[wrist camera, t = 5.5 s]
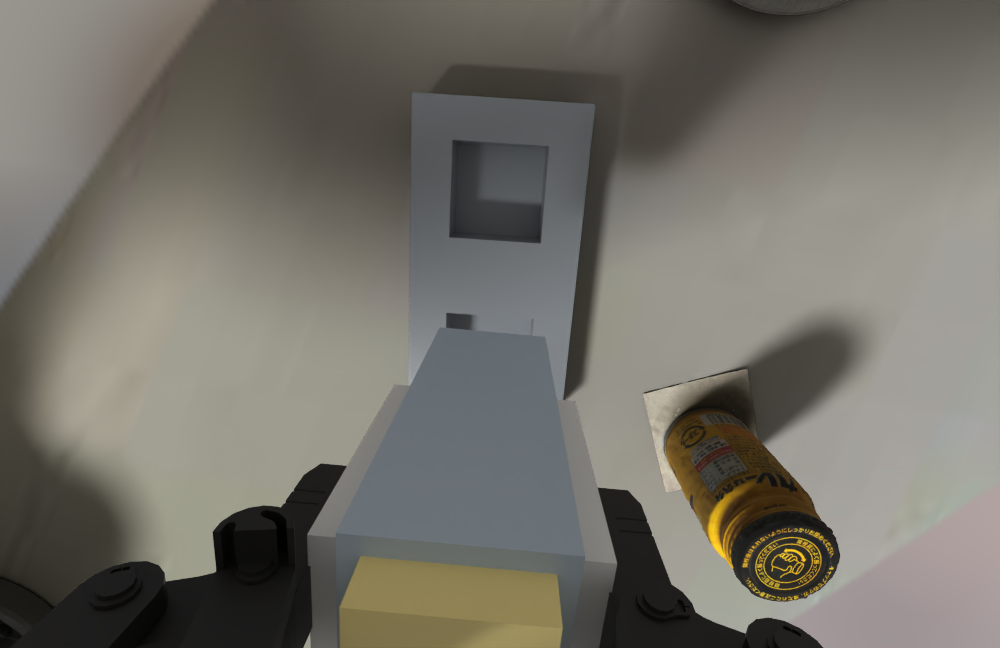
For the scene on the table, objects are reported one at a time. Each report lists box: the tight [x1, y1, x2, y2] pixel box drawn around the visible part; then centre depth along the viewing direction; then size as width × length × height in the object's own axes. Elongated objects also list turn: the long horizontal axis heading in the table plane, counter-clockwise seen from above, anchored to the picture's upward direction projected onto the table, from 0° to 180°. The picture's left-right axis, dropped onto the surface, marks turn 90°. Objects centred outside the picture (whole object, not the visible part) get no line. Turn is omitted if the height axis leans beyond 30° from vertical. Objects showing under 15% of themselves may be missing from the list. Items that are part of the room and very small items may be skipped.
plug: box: [336, 327, 585, 648], centre depth 13 cm, size 4×4×12 cm
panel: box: [408, 92, 596, 400], centre depth 31 cm, size 10×20×4 cm, turn 176°
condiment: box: [643, 369, 840, 601], centre depth 30 cm, size 7×8×12 cm
